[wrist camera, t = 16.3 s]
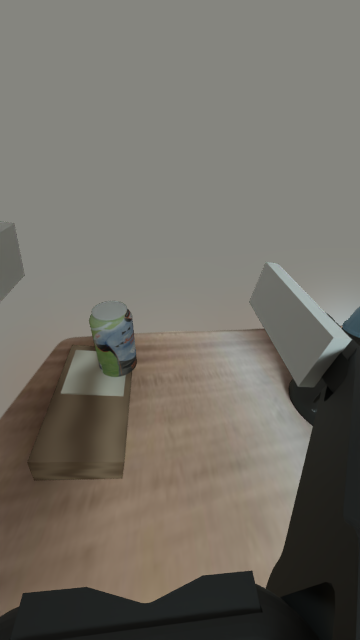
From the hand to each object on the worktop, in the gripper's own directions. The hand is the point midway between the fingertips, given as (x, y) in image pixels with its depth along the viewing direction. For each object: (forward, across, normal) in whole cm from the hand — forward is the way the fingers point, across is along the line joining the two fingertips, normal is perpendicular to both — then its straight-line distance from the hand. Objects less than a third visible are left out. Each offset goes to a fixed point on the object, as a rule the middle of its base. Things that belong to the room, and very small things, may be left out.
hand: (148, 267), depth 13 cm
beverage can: (+17, -3, -27) cm, 32 cm away
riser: (+12, -6, -32) cm, 35 cm away
